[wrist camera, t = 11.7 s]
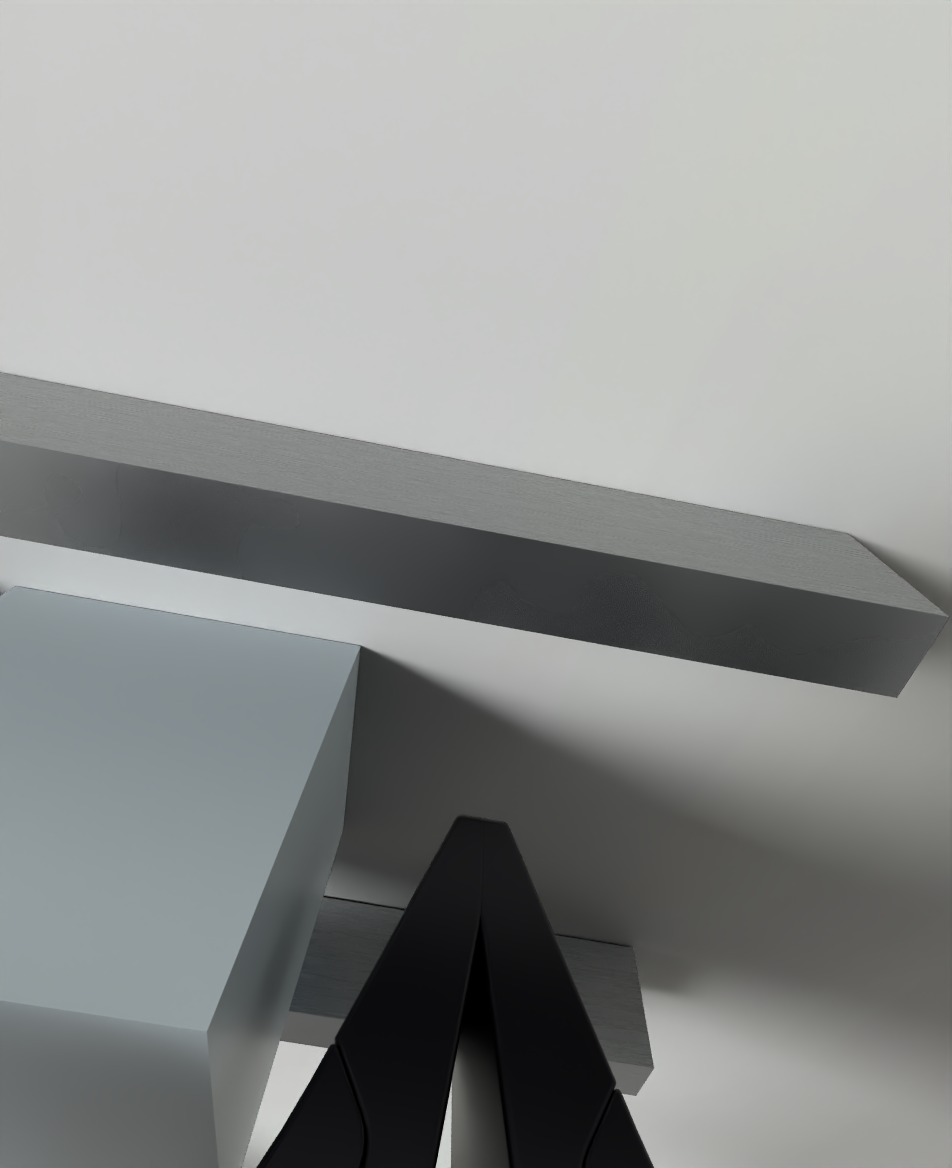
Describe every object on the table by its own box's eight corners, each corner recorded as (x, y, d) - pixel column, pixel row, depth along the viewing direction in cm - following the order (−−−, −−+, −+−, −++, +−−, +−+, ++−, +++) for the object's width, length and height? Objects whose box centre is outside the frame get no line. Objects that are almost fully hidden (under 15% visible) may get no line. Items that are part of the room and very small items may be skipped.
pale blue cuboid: (360, 645, 9) (207, 1031, 4) (343, 829, 11) (223, 1226, 6) (15, 586, 9) (-502, 923, 4) (60, 783, 11) (-266, 1157, 6)
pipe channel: (923, 387, 7) (1102, 442, 5) (595, 1021, 13) (609, 1160, 11) (-897, 23, 6) (-1613, -97, 4) (-300, 879, 12) (-458, 999, 10)
